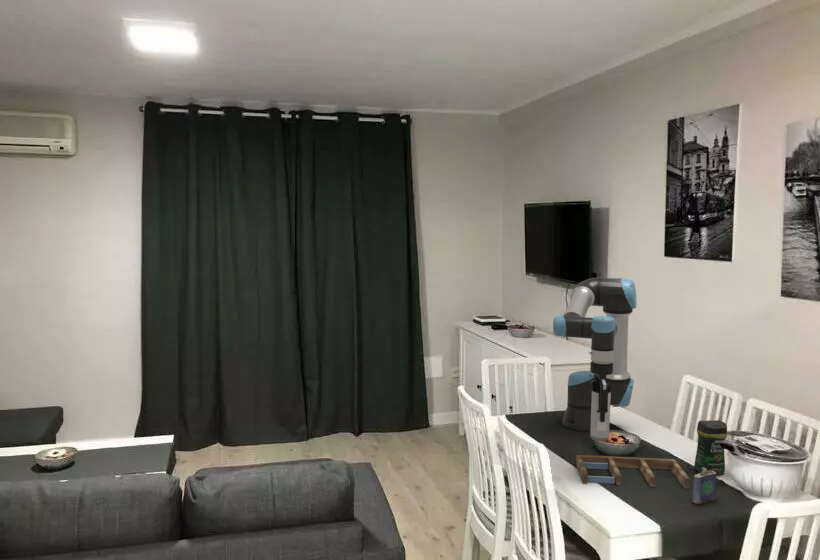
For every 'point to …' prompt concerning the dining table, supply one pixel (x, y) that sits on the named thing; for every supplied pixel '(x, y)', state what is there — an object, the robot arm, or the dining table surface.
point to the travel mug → (594, 415)
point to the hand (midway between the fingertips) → (599, 427)
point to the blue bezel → (598, 478)
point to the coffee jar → (710, 446)
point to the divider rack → (633, 462)
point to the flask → (704, 486)
